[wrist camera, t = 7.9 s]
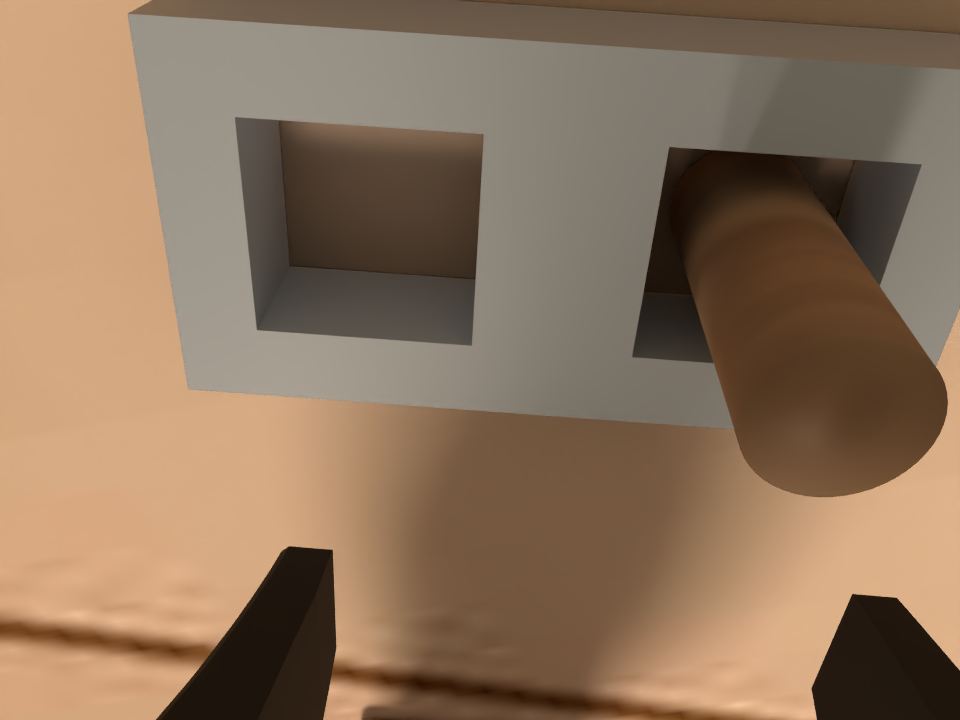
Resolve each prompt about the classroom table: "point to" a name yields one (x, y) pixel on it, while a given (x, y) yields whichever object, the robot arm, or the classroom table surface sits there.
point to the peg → (801, 331)
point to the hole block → (524, 189)
